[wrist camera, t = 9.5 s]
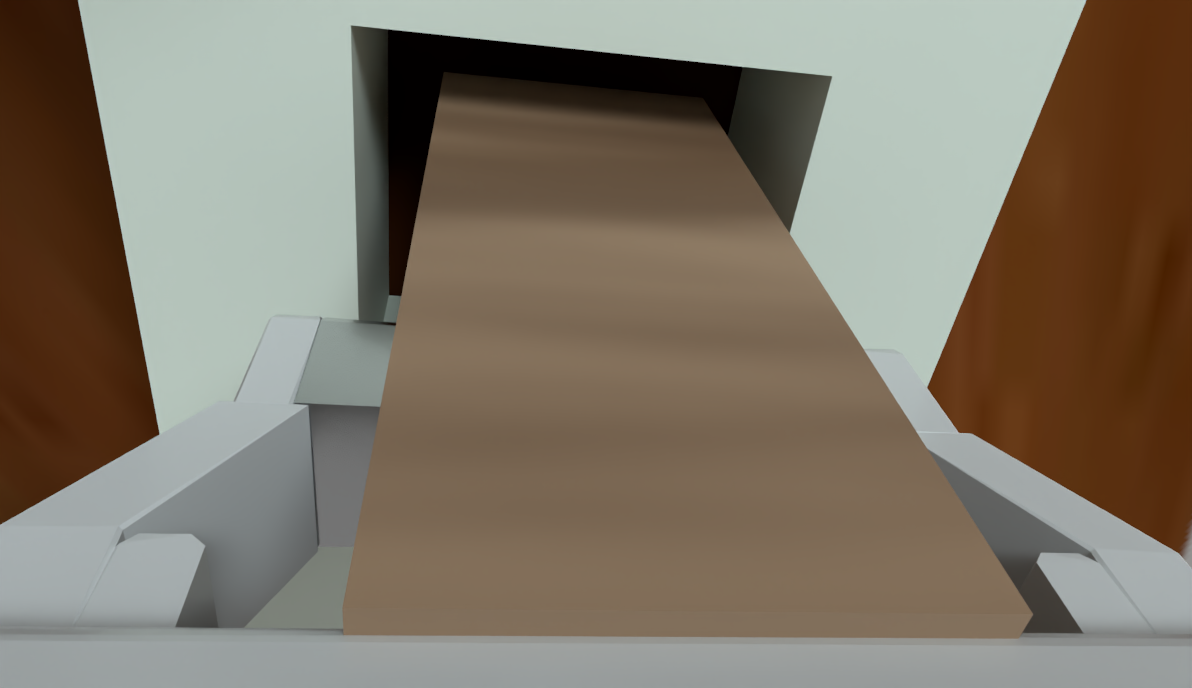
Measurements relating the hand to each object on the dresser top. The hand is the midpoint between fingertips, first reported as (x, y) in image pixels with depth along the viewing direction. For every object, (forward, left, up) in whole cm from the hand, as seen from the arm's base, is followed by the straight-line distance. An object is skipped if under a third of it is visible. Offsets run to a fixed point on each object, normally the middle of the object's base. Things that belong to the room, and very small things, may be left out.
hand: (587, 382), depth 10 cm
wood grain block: (0, 0, -5) cm, 5 cm away
